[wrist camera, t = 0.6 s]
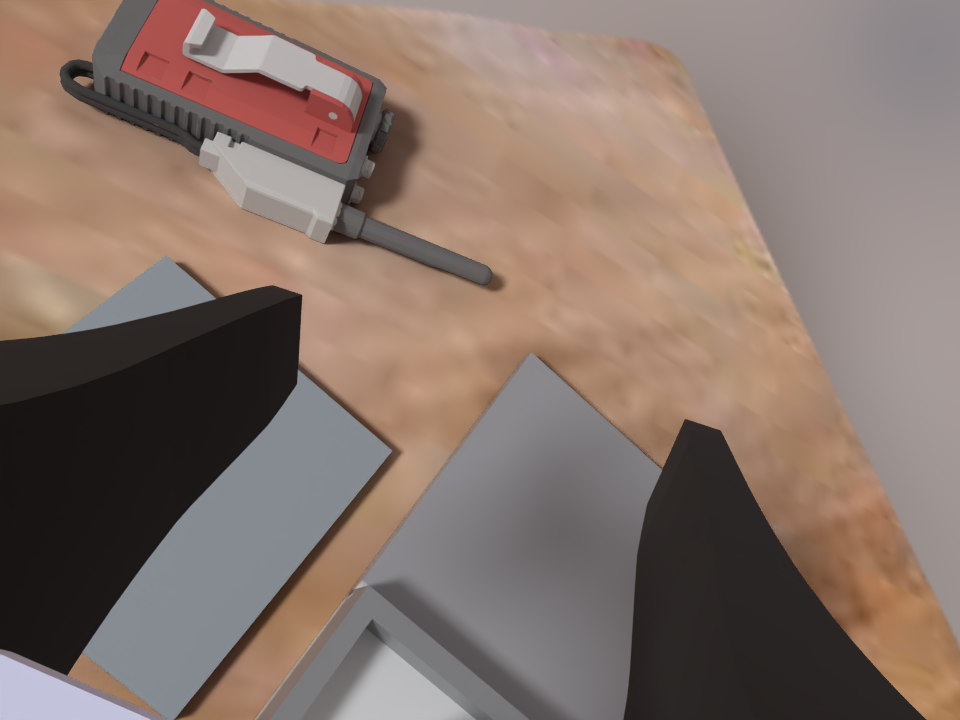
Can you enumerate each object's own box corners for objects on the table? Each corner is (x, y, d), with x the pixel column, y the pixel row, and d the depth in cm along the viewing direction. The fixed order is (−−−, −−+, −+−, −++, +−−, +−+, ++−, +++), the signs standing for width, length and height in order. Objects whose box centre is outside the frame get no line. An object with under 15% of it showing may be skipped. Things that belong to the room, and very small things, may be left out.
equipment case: (412, 1266, 20) (443, 1335, 18) (45, 998, 19) (34, 1041, 17) (720, 535, 35) (758, 528, 33) (523, 358, 34) (548, 338, 32)
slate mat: (170, 721, 23) (171, 722, 22) (-129, 485, 22) (-135, 481, 21) (387, 454, 29) (392, 450, 29) (165, 262, 28) (166, 255, 28)
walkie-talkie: (36, 139, 28) (476, 309, 34) (21, 61, 25) (516, 267, 31) (121, 1, 32) (502, 175, 38) (120, -84, 28) (541, 124, 35)
